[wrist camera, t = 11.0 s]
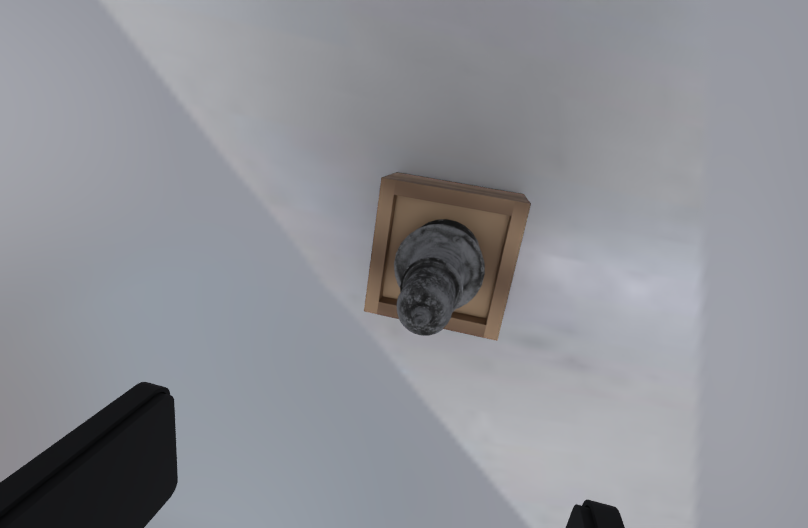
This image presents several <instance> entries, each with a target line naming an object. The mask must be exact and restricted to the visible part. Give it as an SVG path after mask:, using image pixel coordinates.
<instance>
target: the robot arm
mask: <svg viewBox="0 0 808 528" xmlns="http://www.w3.org/2000/svg"><path fill="white" fill-rule="evenodd" d="M175 432H176V431H175V410H174V398H173V397H172V396H171V395H170V392H169V390H168V388H166V387H162V386H158V385H155V384H151V383H147V382H141V383H139V384H137V385H135V386H134V387H133V388H131V389H130V390H129V391H127V392H126V393H125V394H123V395H122V396H120V397H119V398H117V399H116V400H115V401H113V402H112V403H110V404H109V405H108V406H106V407H105V408H103V409H102V410H101V411H99V412H98V413H97V414H95V415H94V416H92V417H91V418H90V419H88V420H87V421H86V422H84V423H83V424H81V425H80V426H78V427H77V428H76V429H74V430H73V431H71V432H70V433H69V434H67V435H66V436H65V437H63V438H62V439H60V440H59V441H58V442H56V443H55V444H53V445H52V446H51V447H49V448H48V449H46V450H45V451H44V452H42V453H41V454H39V455H38V456H37V457H35V458H34V459H33V460H31V461H30V462H28V463H27V464H26V465H24V466H23V467H21V468H20V469H19V470H17V471H16V472H15V473H13V474H12V475H10V476H9V477H7V478H6V479H5V480H3V481H2V482H0V528H144V527H145V526H146V525H147V524H148V522H149V521H150V520H151V519H152V518H153V517H154V516H155V514H156V513H157V512H158V511H159V510H160V509H161V508H162V506H163V505H164V504H165V503H166V501H168V499H169V498H170V497H171V496H172V494H173V492H174V490H175V488H176V485H177V478H178V477H177V455H176V433H175ZM566 528H625V527H624V524H623V521H622V518H621V515H620V513H619V511H618V509H617V508H616V507H614V506H610V505H606V504H602V503H599V502H595V501H591V500H585V501H584V503H583V505H582V506H581V505H577V504H576V505H575V506H574V507H573V510H572V512H571V515H570V518H569V520H568V523H567V526H566Z"/></svg>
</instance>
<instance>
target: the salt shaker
mask: <svg viewBox="0 0 808 528" xmlns="http://www.w3.org/2000/svg"><path fill="white" fill-rule="evenodd" d="M394 272H395V277H396V280H397V283H398V286H399V287H400V294H399V296H398V300H397V314H398V317H399V320H400V321H401V323H402V324H403V326H404V327H406V328H407V329H408V330H409V331H411V332H413V333H415V334H418V335H432V334H435V333H437V332H439V331H441V330H442V329H443V328H444V327H445V326H446V325H447V324H448V322H449V320H450V319H451V315H452V312H453V311H454V310H455V309H458V308H460V307H462V306H463V305H465V304H467V303H468V302H469V301H470V300H472V299H473V298H474V297H475V296H476V294H477V293H478V291H479V289H480V288H481V286H482V283H483V279H484V275H485V262H484V259H483V256H482V252H481V250H480V247H479V243H478V240H477V239H476V237H475V236H474V234H473V232H471V231H470V230H469V229H468V228H467V227H466V226H465V225H463V224H461V223H459V222H457V221H453V220H449V219H438V220H434V221H431V222H428V223H426V224H425V225H423V226H421V227H420V228H418V229H417V230H415V231H413V232H412V233H410V234H409V235H408V236H407V237H406V238H405V239H404V240H403V241H402V243H401V244H400V246H399V248H398V250H397V252H396V256H395V261H394Z"/></svg>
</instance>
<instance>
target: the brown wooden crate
mask: <svg viewBox="0 0 808 528" xmlns="http://www.w3.org/2000/svg"><path fill="white" fill-rule="evenodd" d="M530 205H531V203H530V202H529V201H528V199H527V198H526V196H525V195H524V194H520V193H514V192H508V191H502V190H496V189H491V188H485V187H479V186H473V185H467V184H462V183H456V182H450V181H444V180H438V179H433V178H427V177H421V176H415V175H410V174H404V173H398V172H396V173H394V174H391V175H388V176H385V177H382V178H381V186H380V193H379V201H378V208H377V216H376V224H375V231H374V239H373V246H372V254H371V262H370V269H369V277H368V284H367V292H366V299H365V307H364V311H365V312H370V313H374V314H379V315H383V316H388V317H392V318H397V319H399V317H398V314H397V300H398V296H399V294H400V287H399V286H398V283H397V280H396V277H395V272H394V261H395V256H396V252H397V250H398V248H399V246H400V244H401V243H402V241H403V240H404V239H405V238H406V237H407V236H408V235H409V234H410V233H412V232H413V231H415V230H417V229H418V228H420V227H421V226H423V225H425V224H426V223H428V222H431V221H434V220H438V219H449V220H453V221H457V222H459V223H461V224H463V225H465V226H466V227H467V228H468V229H469V230H470V231H471V232H473V234H474V236H475V237H476V239H477V240H478V243H479V247H480V250H481V252H482V256H483V259H484V262H485V275H484V279H483V283H482V286H481V288H480V289H479V291H478V293H477V294H476V296H475V297H474V298H473V299H472V300H470V301H469V302H468V303H467V304H465V305H463V306H462V307H460V308H458V309H455V310H454V311H453V312H452V315H451V319H450V320H449V322H448V324H447V325H446V326H445V327H444V328H443V329H447V330H451V331H456V332H460V333H465V334H469V335H474V336H478V337H483V338H487V339H492V340H496V341H497V340H498V336H499V331H500V327H501V323H502V319H503V315H504V311H505V307H506V303H507V299H508V295H509V291H510V287H511V283H512V278H513V274H514V270H515V266H516V262H517V258H518V254H519V250H520V246H521V242H522V238H523V234H524V230H525V226H526V221H527V217H528V213H529V209H530Z"/></svg>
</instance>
